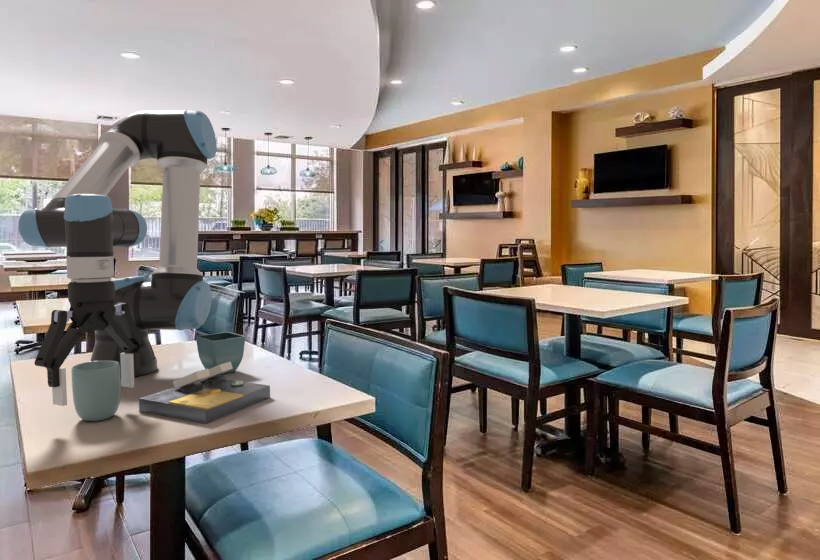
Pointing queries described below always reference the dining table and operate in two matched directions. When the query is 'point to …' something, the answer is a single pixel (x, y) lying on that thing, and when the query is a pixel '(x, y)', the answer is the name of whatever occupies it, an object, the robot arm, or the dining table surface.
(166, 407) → the panel
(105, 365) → the cup
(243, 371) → the dining table surface
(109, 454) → the dining table surface
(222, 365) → the rocker
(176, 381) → the rocker
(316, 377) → the dining table surface
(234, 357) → the flower pot
